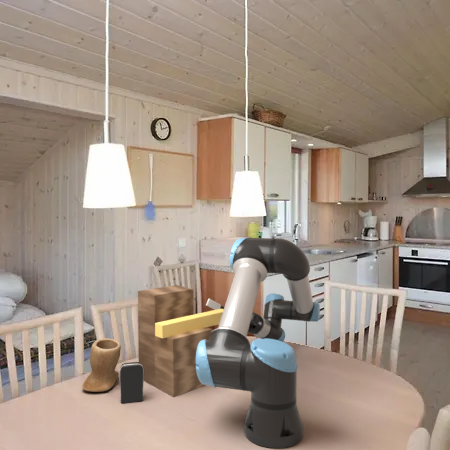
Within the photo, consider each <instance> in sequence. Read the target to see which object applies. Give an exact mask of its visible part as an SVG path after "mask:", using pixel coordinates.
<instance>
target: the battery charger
mask: <svg viewBox="0 0 450 450" xmlns="http://www.w3.org/2000/svg"><path fill="white" fill-rule="evenodd" d="M143 380H144V375H143V366H142V364H141V363H140V362H139V361H132V362H124V363H122V364H121V365H120V369H119V390H120V403H121V404H127V403H129V404H130V403H137V402H142V401H144V381H143Z"/></svg>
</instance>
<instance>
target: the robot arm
mask: <svg viewBox="0 0 450 450" xmlns="http://www.w3.org/2000/svg"><path fill="white" fill-rule="evenodd" d="M229 265H230V268H231V270H232V272H233V274H234V275H233V280H232V282H231V286H230V289H229V292H228V295H227V299H226V300H225V305H224V306H223V305H222V304H220V303H218V302H217V301H215V300H213V299H211V298H208V299H207V301H206V304H205V306H206V307H208V308H210V309H211V310H217V309H224V310H223V313H222V317H221V320H220V323H219V324H218V327H217V328H215V329H212V332H211V334H210V336H209V339H208V340H205V339H204V340H201V341H200V342H199V344H198V346H197V351H196V372H197V376H198V379H199V381H200V382H201V383H202V384H204V385H205V386H209V387H213V388H221V389H229V390H237V391H244V392H245V391H246V392H250V393H251V395H250V398H251V399H250V404H249V408H248V411H247V414H246V416H245V420H244V425H243V426H244V429H243V431H244V436H245V437H246V438H247V439H248V440H249V441H250V442H252V443H254V444H256V445H258V446H261V447H265V448H270V449H271V448H272V449H282V448H283V449H284V448H288V447H292V446H295V445H296V444H298V443H300V442H301V441H302V439H303V438H304V424H303V421H302V417H301V414H300V412H299V408H298V406H297V371H298V364H297V354H296V351H295V349H294V348H293V347H292V346H291V345H290V344H288V343H286V342H285V341H284V340H285V338H286V333H285V330H284V329H283V328H282V321H283V320H288V321H289V320H290V321H301V322H302V321H303V322H319V320H320V317H321V316H320V315H321V314H320V313H321V306H320V304H319V303H318V302H315V301H314V300H313V295H312V290H311V284H310V278H309V277H310V276H309V274H310V271H311V267H310V261H309V259H308V257H307V255H306V253H304V250H302V249H301V248H300V247H299V246H298V245H297V244H295V243H294V242H292V241H290V240H289V239H284V238H278V237H277V238H272V237H271V238H269V237H267V238H265V237H251V236H250V237H249V236H247V237H240V238H237V239H236V240H235V241H234V243H233V244H232V246H231V249H230V255H229ZM268 274H281V275H282V276H283V277H284V278H285V279H286V281H287V284H288V288H289V293H290V296H291V300H286V299H285V298H284V296H283V295H282V294H280V293H279V294H278V293H269V294H267V295H266V297H265V303H264V307H263V315H259V314H258V313H256V312H254V309H255V306H256V301H257V297H258V293H259V291H260V290H259V289H260V286H261V283H262V282H264V281H265V280H266V278H267V277H268ZM248 333H249V334H250V335H253V336H255V339H253V340H252V342H250V339H249V338H248Z"/></svg>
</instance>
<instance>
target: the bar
mask: <svg viewBox="0 0 450 450" xmlns="http://www.w3.org/2000/svg"><path fill="white" fill-rule="evenodd" d="M223 310H224V309H217V310H214V309H211V310H208V311H204V312H200V313H194V315H190V316H185V317H181V318H176V319H171V320H167V321H162V322H158V323H155V336H157V337H160V338H162V339H163V338H166V337H170V336H174V335H178V334H182V333H186V332H190V331H194V330H198V329H202V328H206V327H207V328H210V327H213V326H217V325H218V326H219V323H220V320H221V317H222V313H223Z"/></svg>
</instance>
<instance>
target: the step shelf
mask: <svg viewBox="0 0 450 450" xmlns="http://www.w3.org/2000/svg"><path fill="white" fill-rule="evenodd" d="M194 305H195V304H194V288H191V287H186V286H182V285H179V284H174V285H168V286H162V287H156V288H155V287H153V288H149V289H143V290H137V310H138V311H137V319H138V320H137V324H138V325H137V331H138V332H137V333H138V335H137V336H138V339H137V340H138V362H140V363H141V364H142V366H143V375H144V380H143V382H146V383H147V384H148V385H150V386H152V387H154V388H156V389H158V390H159V391H162V392H163V393H165V394H167V395H169V396H171V397H172V398H175V397H177V396H180V395H182V394H185V393H188V392H191V391H194V390H196V389H199V388H202V387H204V386H206V385H204V384H202V383H201V382H200V381H199V379H198V376H197V372H196V351H197V346H198V344H199V342H200V341H201V340H204V339H205V340H208V339H209V336H210V334H211V332H212V331H213V328H210V327H206V328H202V329H198V330H194V331H190V332H186V333H182V334H178V335H174V336H170V337H166V338H163V339H162V338H160V337H157V336H155V323H158V322H162V321H167V320H171V319H176V318H181V317H185V316H190V315H194V314H195V311H194V309H195V307H194Z"/></svg>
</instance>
